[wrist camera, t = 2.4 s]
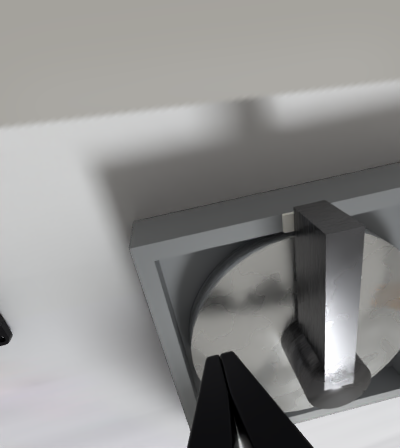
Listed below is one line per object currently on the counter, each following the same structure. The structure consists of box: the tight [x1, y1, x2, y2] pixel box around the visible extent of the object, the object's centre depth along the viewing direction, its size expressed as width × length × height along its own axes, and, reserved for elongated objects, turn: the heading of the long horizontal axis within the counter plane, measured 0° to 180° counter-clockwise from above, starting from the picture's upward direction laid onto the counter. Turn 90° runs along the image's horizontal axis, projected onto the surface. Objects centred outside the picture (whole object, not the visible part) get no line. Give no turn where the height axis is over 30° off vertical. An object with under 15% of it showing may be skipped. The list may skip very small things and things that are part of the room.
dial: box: [189, 200, 400, 412], centre depth 17 cm, size 17×15×5 cm
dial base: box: [129, 162, 400, 439], centre depth 20 cm, size 18×18×4 cm
